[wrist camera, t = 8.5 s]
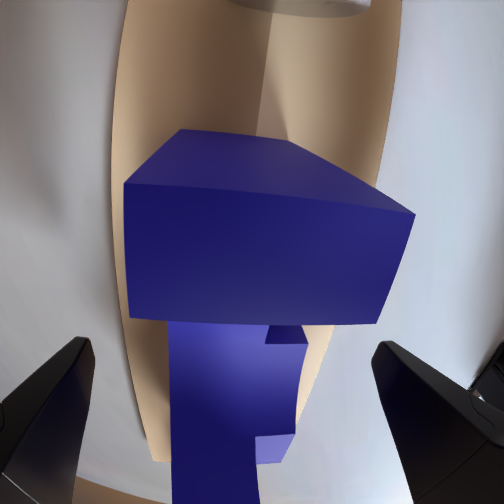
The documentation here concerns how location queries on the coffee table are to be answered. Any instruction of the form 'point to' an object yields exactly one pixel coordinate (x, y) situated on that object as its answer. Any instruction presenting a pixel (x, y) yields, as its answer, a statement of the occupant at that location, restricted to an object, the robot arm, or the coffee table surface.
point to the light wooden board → (243, 123)
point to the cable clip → (248, 289)
